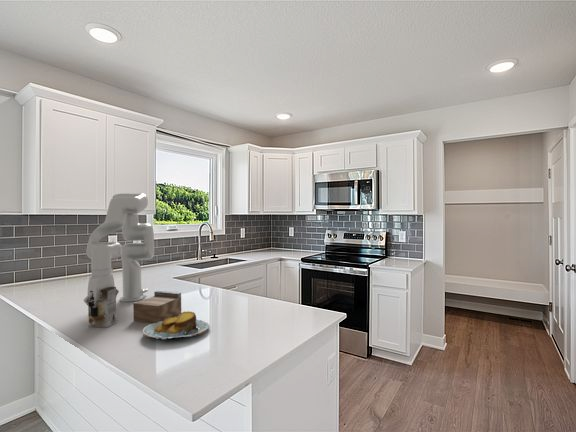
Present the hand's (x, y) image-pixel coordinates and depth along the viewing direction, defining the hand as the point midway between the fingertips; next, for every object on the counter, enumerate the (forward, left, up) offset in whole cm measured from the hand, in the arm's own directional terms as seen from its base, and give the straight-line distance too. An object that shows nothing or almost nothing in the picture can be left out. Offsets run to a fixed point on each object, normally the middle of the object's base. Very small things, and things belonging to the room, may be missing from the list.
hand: (102, 313), depth 135 cm
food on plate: (-2, +37, -6) cm, 37 cm away
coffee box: (0, 0, -5) cm, 5 cm away
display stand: (-15, +16, -5) cm, 23 cm away
